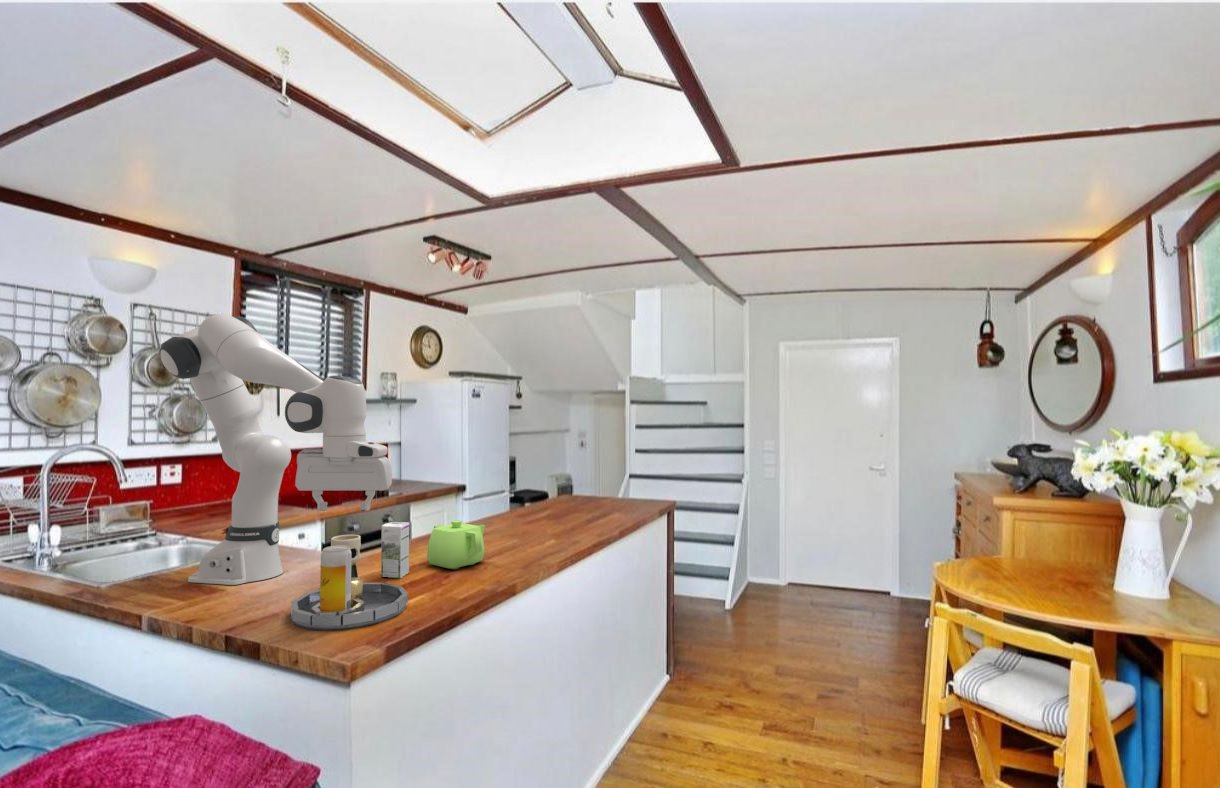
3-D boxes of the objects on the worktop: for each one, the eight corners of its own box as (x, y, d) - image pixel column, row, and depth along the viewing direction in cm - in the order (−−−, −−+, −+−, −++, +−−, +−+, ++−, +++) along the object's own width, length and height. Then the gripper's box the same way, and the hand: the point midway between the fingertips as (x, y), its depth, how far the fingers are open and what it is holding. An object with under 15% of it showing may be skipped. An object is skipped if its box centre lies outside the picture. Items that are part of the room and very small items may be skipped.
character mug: (346, 594, 150) (347, 542, 150) (320, 593, 150) (320, 541, 151) (369, 582, 160) (369, 533, 161) (344, 581, 161) (344, 532, 161)
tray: (268, 630, 125) (269, 596, 126) (322, 594, 149) (323, 566, 150) (383, 630, 126) (384, 596, 126) (419, 594, 150) (419, 566, 150)
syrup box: (409, 573, 169) (410, 521, 169) (400, 579, 163) (400, 525, 164) (390, 572, 170) (390, 521, 170) (380, 578, 164) (380, 525, 164)
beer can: (325, 613, 133) (326, 545, 133) (354, 612, 134) (355, 544, 134) (315, 623, 127) (316, 551, 127) (345, 622, 128) (346, 551, 128)
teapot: (463, 552, 194) (463, 512, 194) (507, 562, 182) (507, 518, 182) (414, 564, 179) (415, 520, 179) (459, 575, 167) (459, 528, 168)
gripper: (290, 449, 131) (289, 513, 130) (385, 449, 131) (384, 512, 131) (304, 447, 137) (303, 508, 137) (394, 447, 138) (394, 507, 137)
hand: (343, 510), depth 134 cm, fingers open, 8 cm apart
